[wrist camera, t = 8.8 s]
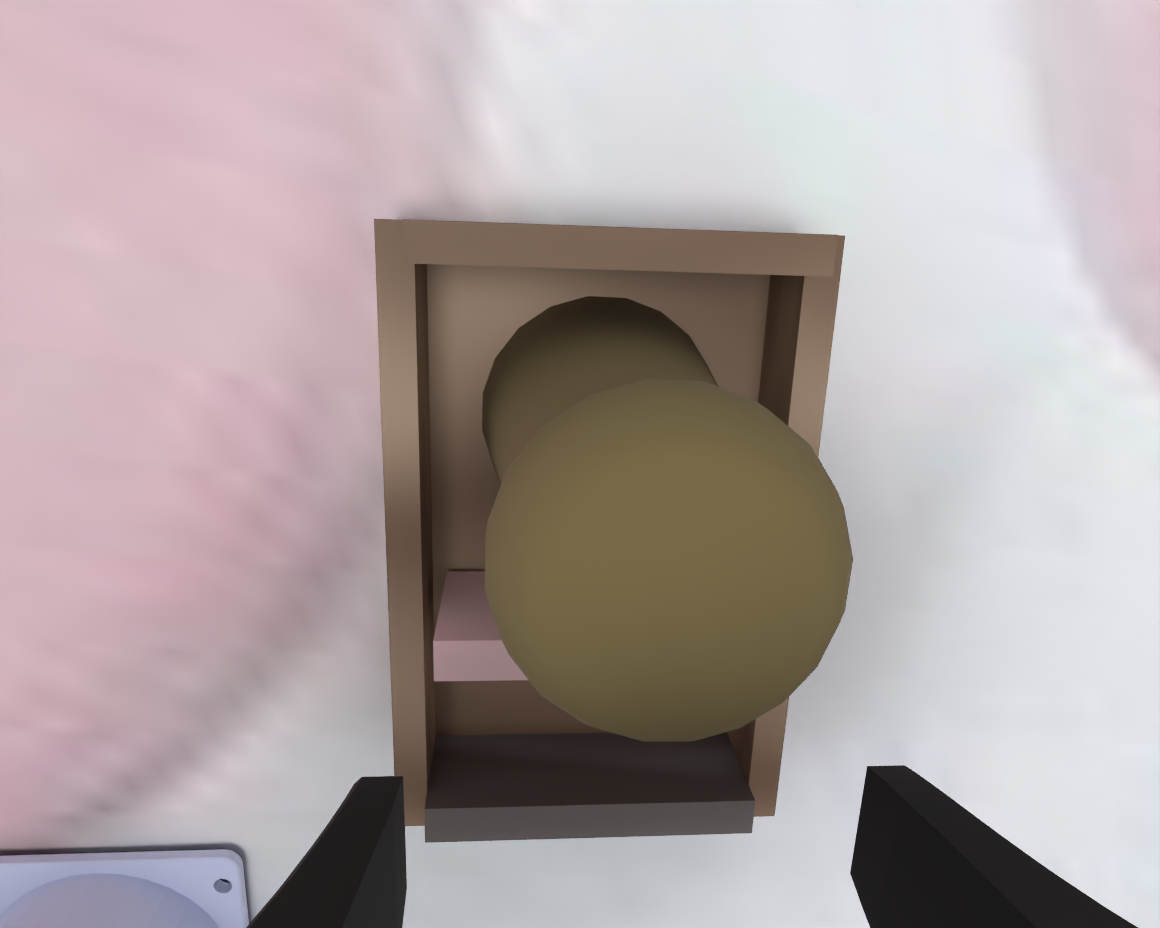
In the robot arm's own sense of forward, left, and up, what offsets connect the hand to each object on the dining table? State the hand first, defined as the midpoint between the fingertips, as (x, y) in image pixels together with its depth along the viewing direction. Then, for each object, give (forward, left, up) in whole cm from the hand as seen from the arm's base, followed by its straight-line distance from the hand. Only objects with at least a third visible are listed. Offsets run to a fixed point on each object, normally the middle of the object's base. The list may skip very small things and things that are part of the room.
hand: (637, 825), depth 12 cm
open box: (+1, 0, -10) cm, 10 cm away
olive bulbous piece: (+4, 0, -10) cm, 11 cm away
